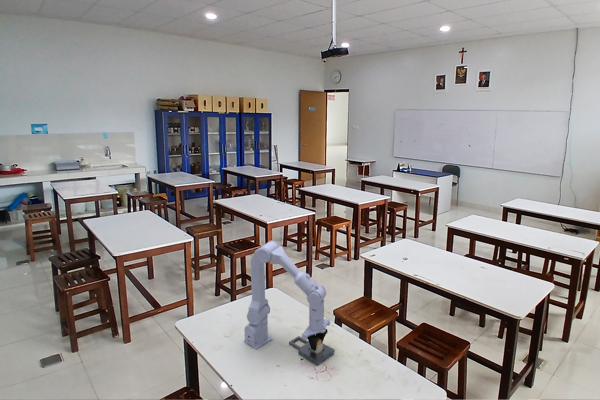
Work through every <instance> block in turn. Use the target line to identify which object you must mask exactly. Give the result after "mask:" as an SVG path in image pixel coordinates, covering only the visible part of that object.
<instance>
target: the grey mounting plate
mask: <svg viewBox="0 0 600 400" xmlns="http://www.w3.org/2000/svg"><path fill="white" fill-rule="evenodd" d="M298 341H300V342H301V343H303V345H301V346H300V345H298V344H296V342H298ZM308 343H309V341H308V339H307V340H305V339H303V338H302V336H299V335H298V336H296V337H293V338H292V339H291V340H290V341H289V342H288V345H289V346H291V347H293V348H295V349H296V350H297V351H298V350H299V349H301V348H302V347H304V346H305V345H307V344H308Z"/></svg>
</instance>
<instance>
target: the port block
mask: <svg viewBox="0 0 600 400" xmlns="http://www.w3.org/2000/svg"><path fill="white" fill-rule="evenodd" d="M304 345H305V344H304ZM301 347H302V346H301ZM297 351H298V355H299V356H300V357H302V358H304V359H305V360H307V361H309V362H311V363H312V364H314V365H316V366H320V365H321V364H322V363H323V362H325V361H326V360H327V359H329V358H330V357H332V356H333V355H334V354H335V349H334V348H332V347H331V346H328V345H327V344H325V343H323V352H321V353H320V354H318V355H317V354H315V353H314V352H312V351H310V344H309V343H308V344H307V345H305V346H304V347H302V348H301V349H299V350H298V349H297Z"/></svg>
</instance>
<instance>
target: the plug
mask: <svg viewBox="0 0 600 400" xmlns="http://www.w3.org/2000/svg"><path fill="white" fill-rule="evenodd" d="M323 344H324V343H321V339H319V338H318V340H317V346H316V350H315V351H314V350H312V349H311V347H310V351H312V352H314V353H315V354H317V355H318V354H320V353H321V352H323Z"/></svg>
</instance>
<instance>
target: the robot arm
mask: <svg viewBox="0 0 600 400" xmlns="http://www.w3.org/2000/svg"><path fill="white" fill-rule="evenodd" d="M253 253H254V254H253V255H252V257H251V258H250V278H251V279H250V280H251V281H250V285H251V301H250V304H249V306H248V312H247V314H246V320H247V322H248V324H247V325H245V327H244V331H243V332H244V339H243V342H244V343H246V344H247V345H249V346H250V347H252V348H254V349H255V350H257V349H258V348H260V347H261V346H263V345H265V344H267V343H268V342H270V341H272V340H273V337H271V336H270V335H269V325H268V324H269V323H268V322H269V321H268V315H269V314H270V313H271V307H270V305H269V300H268V299H267V298H266V286H265V285H266V282H265V281H266V280H265V279H266V278H265V264H266V263H267V264H268V263H269V264H270V265H280V267H282V268H283V269H284V270H285V271H286V272H287V273H288V274H289V275H290V276H291V277H292V278H293V281H294V282H293V283H294V284H295V285H296V286H297V287H298V288H299V289H300V291H302V292H303V293H304V295H305V296H306V299H307V300H306V301H307V302H308V305H309V307H308V310H309V312H308V313H309V314H308V326H307V327H306V329H305V331H303V332H302V333H301V337H302V338H303V339H305V340H307V341H309V344H310V347H311V349H312V350H314V351H315V350H316V346H317V340H318V338H319V339H321V343H323V342H324V339H325V337H326V336H327V334H328V331H329V330H328V329H327V328H326V327H328V326H330V325H331V320H330V319H328V318H325V298H326V296H327V290H326V288H325V287H324V286H323V285H322V284H319V283H316V282H315V280H313V279H312V277H311V275H310V274H309V273H307V272H306V271H300V269H299V267H297V265H295V264H294V262H293V260H291V259H290V257H289V256H288V255H287V253H286V252H285V250H284V248H283V247H282V245H280V243H279V242H277V241H276V240H269V241H267V242H266V243H264V244H263V245H262V246H261V247H259V248H257V249H255V250H254V252H253ZM323 344H324V343H323Z"/></svg>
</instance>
